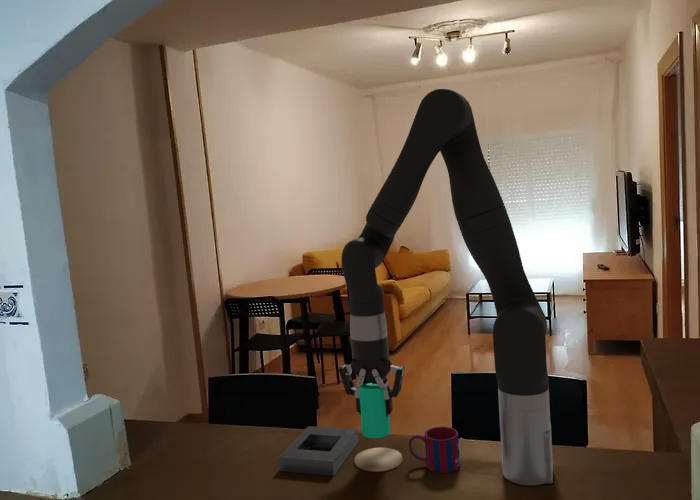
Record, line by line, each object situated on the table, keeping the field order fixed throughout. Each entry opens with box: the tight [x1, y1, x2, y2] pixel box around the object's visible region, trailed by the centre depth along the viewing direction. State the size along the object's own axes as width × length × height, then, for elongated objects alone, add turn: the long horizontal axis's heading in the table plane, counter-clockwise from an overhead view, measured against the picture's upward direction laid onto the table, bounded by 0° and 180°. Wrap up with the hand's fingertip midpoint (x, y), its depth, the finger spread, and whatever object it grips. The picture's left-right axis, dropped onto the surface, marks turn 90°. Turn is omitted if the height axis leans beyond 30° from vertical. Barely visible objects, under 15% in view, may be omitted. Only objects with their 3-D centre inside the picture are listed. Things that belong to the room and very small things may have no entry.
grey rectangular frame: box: [278, 425, 359, 477], centre depth 131 cm, size 12×16×3 cm
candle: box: [359, 383, 392, 439], centre depth 125 cm, size 6×6×12 cm
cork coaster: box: [354, 447, 403, 473], centre depth 126 cm, size 10×10×1 cm
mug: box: [408, 426, 461, 474], centre depth 122 cm, size 7×10×7 cm
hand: (374, 414), depth 125 cm, fingers closed on candle, 4 cm apart
